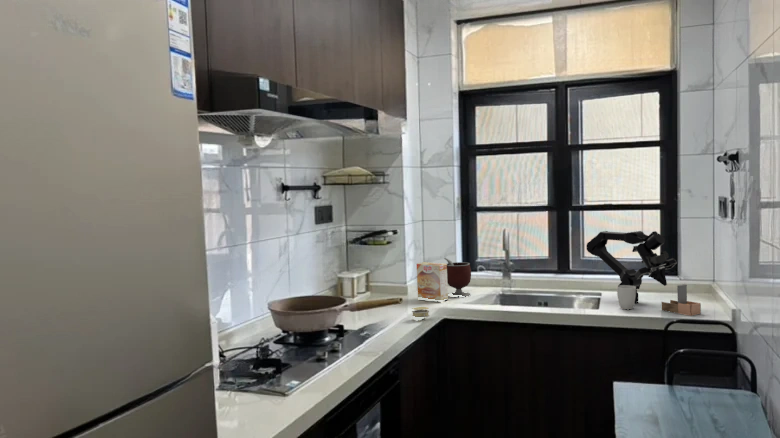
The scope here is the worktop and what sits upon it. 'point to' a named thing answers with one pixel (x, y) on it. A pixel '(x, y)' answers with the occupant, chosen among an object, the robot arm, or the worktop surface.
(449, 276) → the mate gourd
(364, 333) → the worktop surface
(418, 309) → the stacked layers on plate
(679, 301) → the plunger
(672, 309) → the tray
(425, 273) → the coffeecake box
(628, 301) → the cup
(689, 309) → the cup
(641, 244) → the robot arm
